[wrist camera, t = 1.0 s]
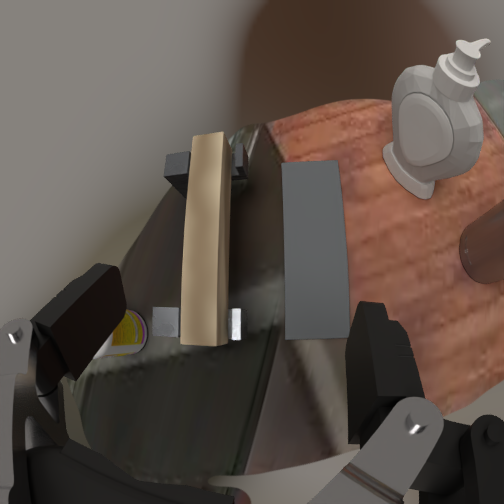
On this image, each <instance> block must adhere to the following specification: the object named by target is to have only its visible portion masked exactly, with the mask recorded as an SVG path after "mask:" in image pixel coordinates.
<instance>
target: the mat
mask: <svg viewBox="0 0 504 504" xmlns="http://www.w3.org/2000/svg"><path fill="white" fill-rule="evenodd" d="M282 186H283V215H284V254H285V340H291V339H329V338H348V336H349V333H350V317H349V283H348V263H347V248H346V234H345V222H344V211H343V202H342V192H341V184H340V175H339V167H338V160H333V161H307V162H288V163H282Z"/></svg>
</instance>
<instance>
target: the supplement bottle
mask: <svg viewBox="0 0 504 504" xmlns="http://www.w3.org/2000/svg"><path fill="white" fill-rule="evenodd" d="M146 339H147V329H146V325H145V322H144V320H143V319H142V318H141V316H140V315H139V314H137V313H136V312H134V311H132V310H126V313H125V316H124V318H123V319H122V321H121V322H120V323H119V325H118V326H117V327H116V329H115V330H114V331H113V332H112V334H111V335H110V336H109V338H108V339H107V340H106V342H105V343H104V344H103V346H102V347H101V348H100V349H99V351H98V352H97V353H96V355H95V356H94V358H93V359H99V358H107V357H116V356H124V355H131V354H135V353H137V352H139V351H140V350H141V349H142V348H143V346H144V345H145V342H146Z"/></svg>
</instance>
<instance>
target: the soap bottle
mask: <svg viewBox="0 0 504 504" xmlns="http://www.w3.org/2000/svg"><path fill="white" fill-rule="evenodd" d="M490 43H491V41H490V40H488V39H481V40H478V41H475V42H472V43H468V42H466V41H463V40H457V41H456V46H457V47H456V50H455V52H454V53H449V54H446V55H441V56H440V57H439V59H438V62H437V64H436V67H435V68H432V67H429V66H425V65H418V66H414V67H409V68H406V69H405V70H404V71H403V73H402V74H401V75H400V76H399V77H398V79H397V81H396V83H395V86H394V89H393V93H392V125H393V142H391V143H389V144H387V145H386V146H385V147H384V149H383V158H384V160H385V162H386V165H387V167H388V169H389V170H390V172H391V173H392V175H393V176H394V178H395V179H396V181H397V182H399V183H400V184H401V185H402V186H403V187H404V188H405V189H406V190H408V191H409V192H411V193H412V194H414V195H415V196H417V197H418V198H421V199H428V198H431V196H432V194H433V191H434V185H435V180H441V179H446V178H451V177H454V176H458V175H461V174H464V173H466V172H467V171H469V170H470V169H471V168H472V167H473V166H474V165H475V163H476V161H477V159H478V157H479V154H480V151H481V147H482V143H483V138H484V137H483V123H482V117H481V115H480V112H479V110H478V107H477V105H476V103H475V100H474V98H473V94H474V92H475V90H476V88H477V86H478V85H479V83H480V81H479V76H478V74H477V72H476V68H475V66H474V64H475V62H476V60H477V59H479V58H480V56H481V55H480V51H481V50H482V49H483V48H484V47H485V46H488V45H490Z"/></svg>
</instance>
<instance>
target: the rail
mask: <svg viewBox="0 0 504 504" xmlns="http://www.w3.org/2000/svg"><path fill="white" fill-rule="evenodd" d="M231 167H232V149H231V147H230V145H229V143H228V140H227V138H226V136H225V134H224V132H218V133H211V134H204V135H198V136H193V143H192V152H191V161H190V171H189V181H188V192H187V204H186V217H185V232H184V248H183V267H182V293H181V344H187V345H203V346H219V345H223V344H227V343H228V285H229V233H230V197H231Z"/></svg>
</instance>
